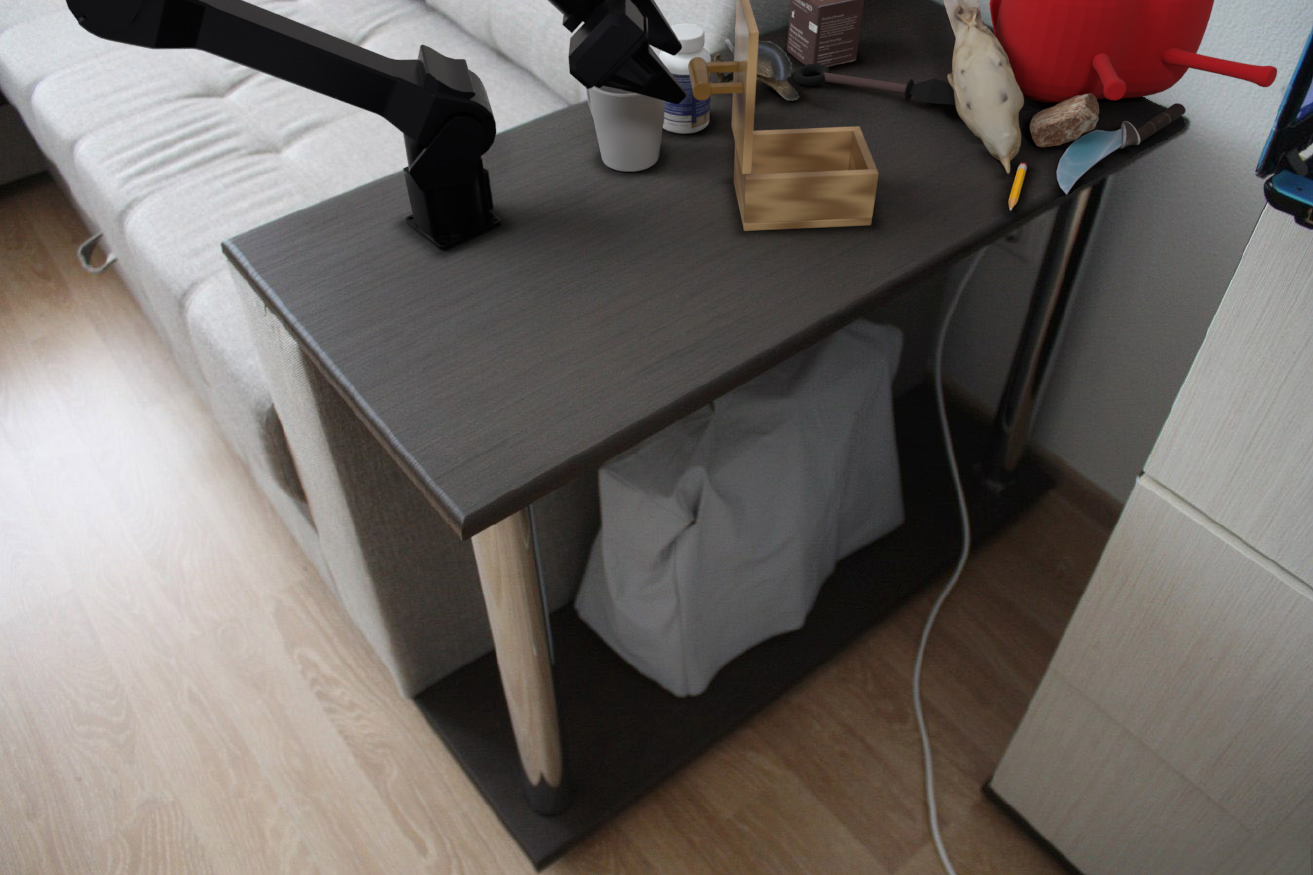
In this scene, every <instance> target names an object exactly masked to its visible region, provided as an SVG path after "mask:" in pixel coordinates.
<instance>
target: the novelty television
mask: <svg viewBox="0 0 1313 875" xmlns="http://www.w3.org/2000/svg"><path fill="white" fill-rule="evenodd" d="M1214 3H1215V0H989V11H990V20H991V24H992V28H993V34H994V35H995V37H996V38H997V39H998V41H999V42H1000V44H1001V46H1002V48H1003V49H1004V51H1005V53H1006V54H1007V56H1008V59H1009V63H1010V65H1011V68H1012V71H1013V73H1014V76H1015V79H1016V82H1017V84H1018V86H1019V88H1020V90H1021V91H1022V93H1023V97H1024V98H1026V99H1029V100H1031V101H1034V102H1039V103H1044V104H1052V105H1057V104H1059V103H1061V102H1062V101H1065V100H1068V99H1070V98H1073V97H1074V96H1077V95H1080V96H1081V95H1084V94H1090V93H1091V94H1092V95H1094V96H1095V97H1096V99H1097V100H1109V101H1118V100H1121V99H1135V98H1142V97H1147V96H1148V97H1149V96H1153V95H1156V94H1160V93H1162V92H1163V93H1164V92H1165V91H1167V90H1169V89H1171V88H1172V87H1173V86H1174V85H1176V84H1177V83H1178V82H1180V80H1181V79H1182V78H1183V77H1184V75H1185V74H1186V73H1187V72H1188V70H1189V69H1192V70H1197V71H1203V72H1207V73H1212V74H1217V75H1221V76H1226V77H1230V78H1234V79H1237V80H1241V81H1246V82H1248V83H1252V84H1254V85H1256V86H1258V87H1261V88H1269V87H1271V86H1272V85H1273V84H1274V83H1275V81H1276V78H1277V77H1278V76H1277V75H1278V68H1277V67H1276V66H1274V65H1257V64H1251V63H1245V62H1239V61H1234V60H1229V59H1224V58H1219V57H1214V56H1208V55H1204V54H1200V53H1198V51H1199V49H1200V46H1201V44H1202V41H1203V39H1204V36H1205V34H1206V31H1207V28H1208V25H1209V21H1210V18H1211V14H1212V11H1213V8H1214Z"/></svg>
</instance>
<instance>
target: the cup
mask: <svg viewBox="0 0 1313 875" xmlns="http://www.w3.org/2000/svg"><path fill="white" fill-rule="evenodd" d="M585 94H586V99H587V104H588V108H589V110H590V113H591V115H592V119H593V124H594V128H595V134H596V138H597V143H598V147H599V151H600V156H601V160H602V162H603V164H604V165H605V166H607V168H610V169H612V170H615V171H618V172H623V173H635V172H640V171H644V170H647V169H649V168H650V167H652V166H654V165H655V164H656V163H657V162H658V160H659V157H660V151H661V143H662V137H663V136H662V135H663V130H664V128H663V122H664V112H665V101H663V100H659V99H656V98H652V97H649V96H645V95H641V94H637V93H634V92H630V91H625V90H620V89H616V88H611V87H606V86H603V87H601V88H597V87H595V86H594V87H593V88H590V89H587V88H586V87H585Z"/></svg>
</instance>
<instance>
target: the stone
mask: <svg viewBox="0 0 1313 875" xmlns="http://www.w3.org/2000/svg"><path fill="white" fill-rule="evenodd" d="M1099 107H1100V106H1099V102H1098V99H1096V97H1095V96H1094V95H1092V94H1091V93H1090V94H1084V95H1081V96H1080V95H1077V96H1074V97H1073V98H1070V99H1068V100H1065V101H1062V102H1061V103H1059V104H1055V105H1054V106H1051V107H1047V108H1044V109H1041V110H1042V111H1041V110H1039V111H1038V112H1037V113H1035V114H1033V116H1032V118H1031V120H1030V122H1029V131H1030V135H1031V138H1032V141H1033V142H1034V144H1035V146H1036V147H1039V148H1048V147H1050V148H1051V147H1057V146H1058V147H1059V146H1062V145H1063V144H1066V143H1069V142H1072V141H1076V140H1077V139H1079V138H1080V137H1082V135H1085V134H1087V133H1090V132H1092V131H1094V130H1095V129H1096V127H1097V123H1098V122H1099V119H1100V118H1099V114H1100V108H1099Z"/></svg>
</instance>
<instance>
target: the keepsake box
mask: <svg viewBox="0 0 1313 875" xmlns="http://www.w3.org/2000/svg"><path fill="white" fill-rule="evenodd" d="M733 162H734V163H733V185H734V189H735V195H736V200H737V205H738V209H739V214H740V218H741V223H742V227H743V231H744V232H753V231H774V230H776V231H777V230H795V229H817V228H819V229H820V228H840V227H841V228H842V227H862V226H872V222H873V215H874V208H875V201H876V195H877V189H878V188H877V187H878V181H879V175H880V173H879V170H878V168H877V166H876V163H875V160H874V158H873V155H872V153H871V151H870V149H869V146H868V144H867V141H866V139H865V137H864V134H863V131H862V128H861V126H860V125H857V126H836V127H835V126H834V127H832V126H831V127H812V128H811V127H809V128H808V127H807V128H786V129H765V130H764V129H762V130H754V132H753V150H752V168H751V174H742V171H741V166H740V162H739V157H738V153H737V149H736V144H735V143H734V160H733Z"/></svg>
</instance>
